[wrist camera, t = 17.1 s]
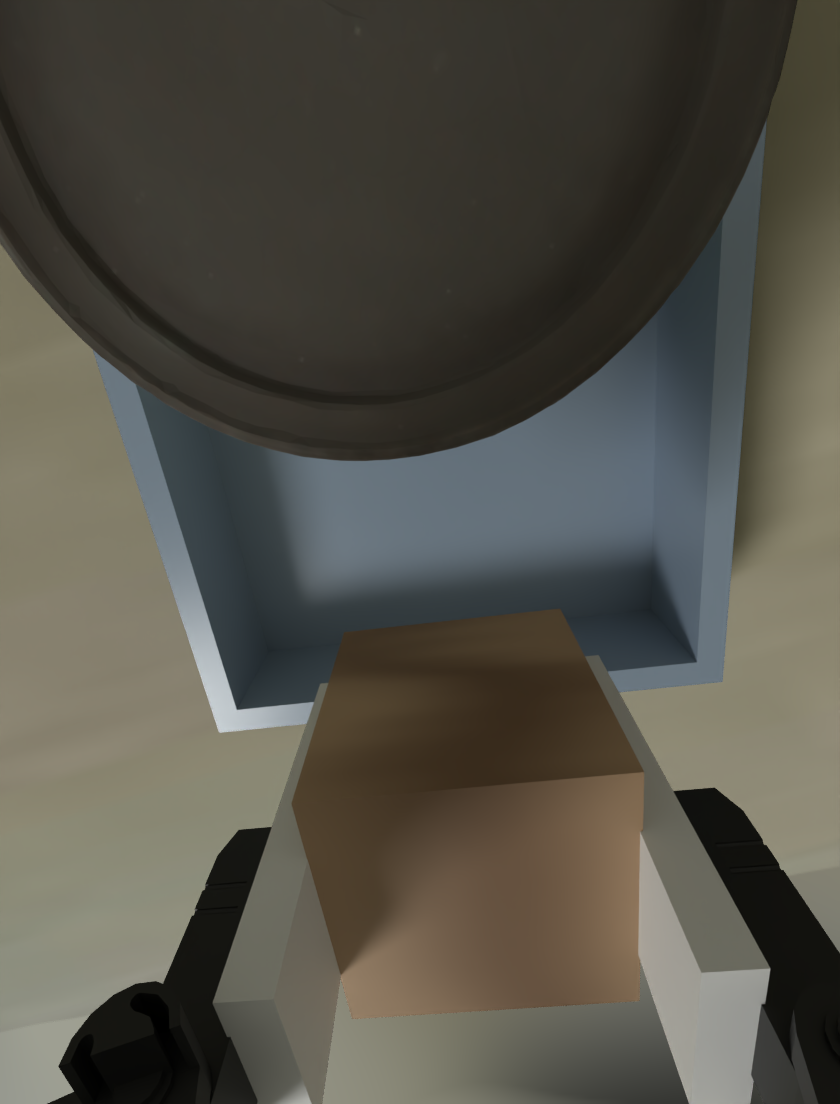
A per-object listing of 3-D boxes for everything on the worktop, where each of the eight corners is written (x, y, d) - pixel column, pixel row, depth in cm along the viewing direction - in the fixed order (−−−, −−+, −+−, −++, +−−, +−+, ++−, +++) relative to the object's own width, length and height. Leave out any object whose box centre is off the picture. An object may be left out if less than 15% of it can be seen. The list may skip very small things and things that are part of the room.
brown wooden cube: (377, 796, 14) (352, 1019, 9) (344, 632, 12) (291, 803, 8) (567, 779, 14) (639, 1001, 9) (559, 608, 12) (644, 772, 7)
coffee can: (561, 69, 17) (994, -865, 4) (530, 397, 21) (703, 473, 8) (246, 62, 17) (-343, -876, 4) (270, 389, 21) (0, 454, 8)
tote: (256, 664, 26) (219, 732, 21) (63, -18, 17) (-75, -158, 12) (667, 620, 25) (722, 681, 20) (693, -143, 16) (804, -352, 11)
